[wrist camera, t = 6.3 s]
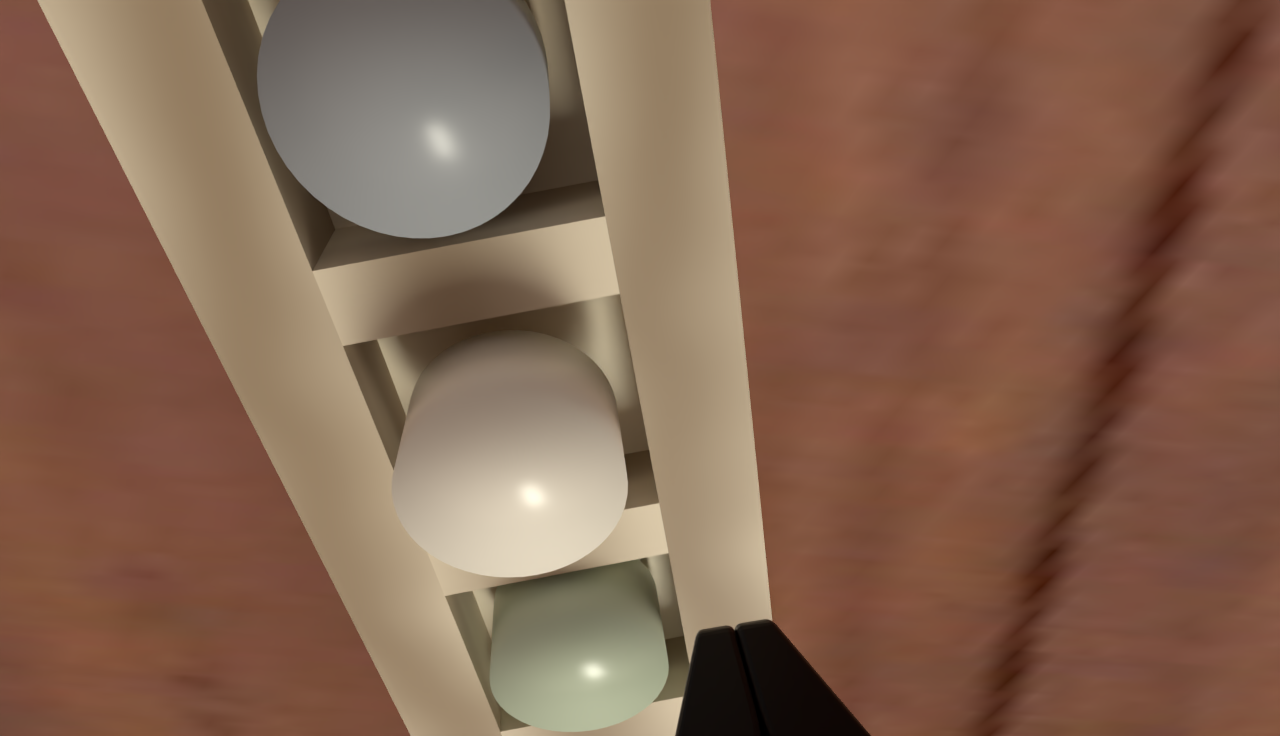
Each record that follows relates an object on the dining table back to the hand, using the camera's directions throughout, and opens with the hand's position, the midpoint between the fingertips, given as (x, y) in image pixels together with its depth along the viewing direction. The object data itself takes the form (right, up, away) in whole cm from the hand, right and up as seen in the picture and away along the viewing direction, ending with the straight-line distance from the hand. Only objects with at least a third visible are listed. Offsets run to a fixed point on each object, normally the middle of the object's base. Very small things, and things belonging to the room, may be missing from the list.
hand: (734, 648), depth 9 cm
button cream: (-4, +2, +8) cm, 9 cm away
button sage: (-3, -3, +13) cm, 14 cm away
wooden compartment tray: (-4, +3, +11) cm, 12 cm away
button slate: (-5, +8, +6) cm, 11 cm away
